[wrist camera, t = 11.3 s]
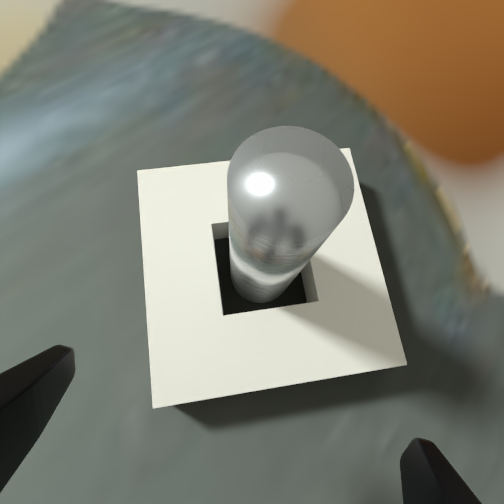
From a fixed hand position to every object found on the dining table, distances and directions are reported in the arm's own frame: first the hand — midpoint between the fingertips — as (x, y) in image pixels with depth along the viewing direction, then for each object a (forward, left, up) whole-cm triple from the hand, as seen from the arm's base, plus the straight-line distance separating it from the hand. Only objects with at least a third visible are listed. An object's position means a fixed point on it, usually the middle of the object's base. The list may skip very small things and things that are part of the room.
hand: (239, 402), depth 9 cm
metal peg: (+6, -2, -13) cm, 14 cm away
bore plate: (+6, -2, -13) cm, 14 cm away
